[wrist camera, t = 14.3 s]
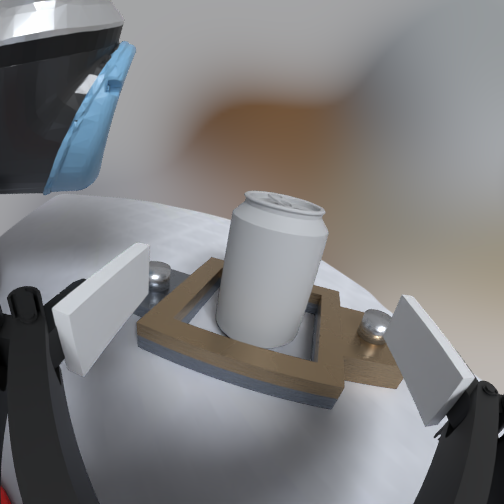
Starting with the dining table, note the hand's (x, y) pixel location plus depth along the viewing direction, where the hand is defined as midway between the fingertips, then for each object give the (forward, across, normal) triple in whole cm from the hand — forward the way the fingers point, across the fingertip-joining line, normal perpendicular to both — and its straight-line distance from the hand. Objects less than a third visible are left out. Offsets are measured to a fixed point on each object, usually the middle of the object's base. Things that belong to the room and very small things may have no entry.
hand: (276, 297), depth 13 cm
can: (+9, 0, -9) cm, 13 cm away
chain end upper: (+9, +3, -8) cm, 12 cm away
